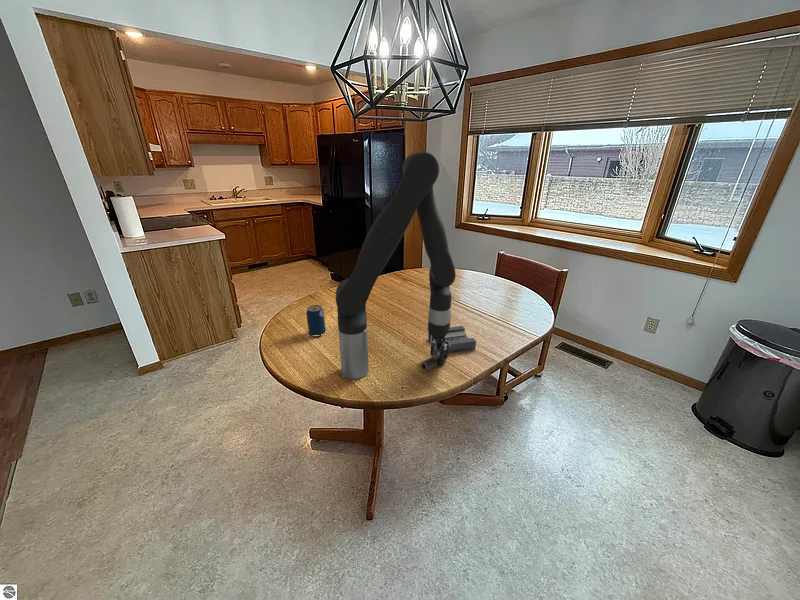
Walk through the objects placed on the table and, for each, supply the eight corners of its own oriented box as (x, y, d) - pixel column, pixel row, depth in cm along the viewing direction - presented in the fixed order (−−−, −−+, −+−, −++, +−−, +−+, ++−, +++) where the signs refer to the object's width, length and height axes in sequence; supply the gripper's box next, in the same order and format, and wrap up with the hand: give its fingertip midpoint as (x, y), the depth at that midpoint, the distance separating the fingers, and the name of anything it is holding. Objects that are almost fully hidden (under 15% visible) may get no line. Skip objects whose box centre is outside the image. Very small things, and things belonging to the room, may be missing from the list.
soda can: (329, 332, 137) (326, 307, 132) (317, 339, 132) (314, 313, 127) (317, 328, 141) (314, 303, 136) (305, 334, 135) (302, 309, 130)
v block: (441, 354, 122) (442, 345, 121) (430, 338, 133) (430, 329, 132) (475, 349, 126) (476, 340, 124) (461, 334, 137) (462, 325, 135)
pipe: (417, 369, 114) (418, 350, 111) (440, 355, 122) (441, 337, 119) (430, 377, 110) (431, 357, 107) (453, 362, 118) (455, 343, 115)
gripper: (422, 311, 115) (420, 351, 121) (436, 330, 102) (433, 374, 109) (441, 308, 116) (439, 348, 123) (458, 327, 104) (454, 370, 110)
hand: (436, 360), depth 116 cm, fingers closed on pipe, 6 cm apart
